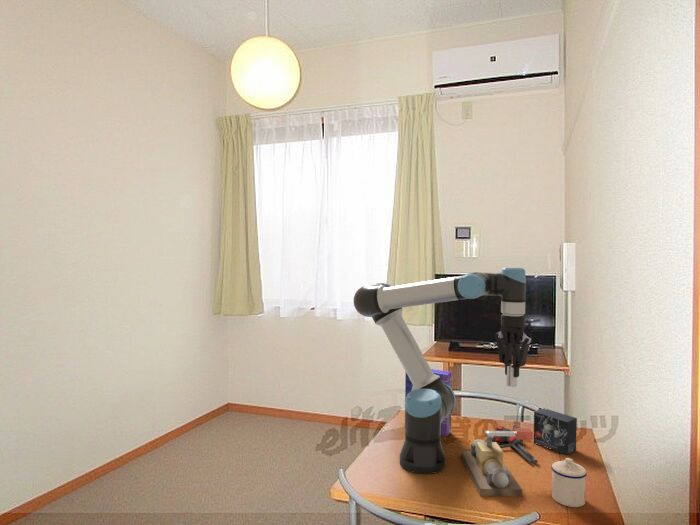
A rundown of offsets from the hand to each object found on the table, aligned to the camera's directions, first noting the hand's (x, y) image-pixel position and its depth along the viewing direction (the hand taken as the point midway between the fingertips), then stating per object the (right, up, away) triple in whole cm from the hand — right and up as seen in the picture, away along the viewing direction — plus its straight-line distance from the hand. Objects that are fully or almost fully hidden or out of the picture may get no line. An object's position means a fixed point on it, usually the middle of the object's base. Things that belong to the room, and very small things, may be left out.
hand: (511, 385), depth 154 cm
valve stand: (-10, -26, -6) cm, 29 cm away
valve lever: (-4, -14, -7) cm, 16 cm away
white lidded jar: (+9, -27, -20) cm, 34 cm away
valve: (+4, -27, +14) cm, 30 cm away
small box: (+21, -27, +16) cm, 37 cm away
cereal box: (-23, -26, +31) cm, 46 cm away
